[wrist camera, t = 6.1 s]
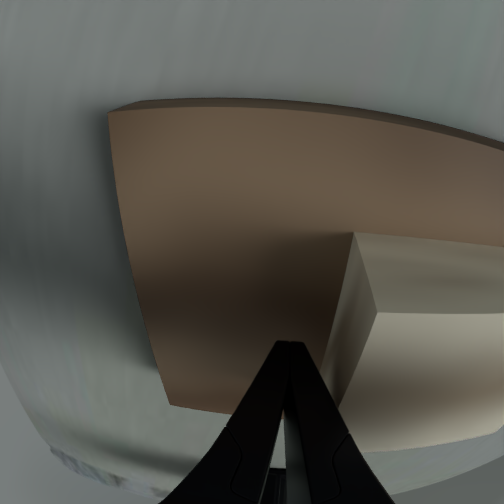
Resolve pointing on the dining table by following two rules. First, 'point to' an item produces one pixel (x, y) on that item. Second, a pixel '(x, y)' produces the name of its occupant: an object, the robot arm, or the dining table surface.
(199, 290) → the walnut board
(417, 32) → the dining table surface
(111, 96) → the dining table surface
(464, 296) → the birch tile
